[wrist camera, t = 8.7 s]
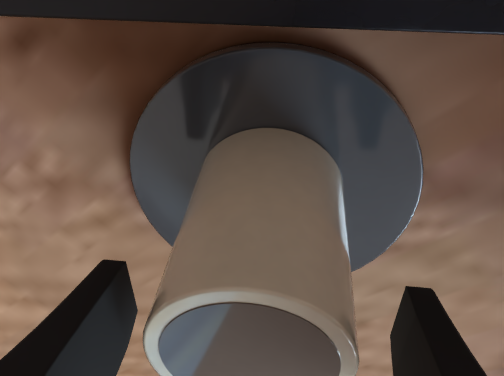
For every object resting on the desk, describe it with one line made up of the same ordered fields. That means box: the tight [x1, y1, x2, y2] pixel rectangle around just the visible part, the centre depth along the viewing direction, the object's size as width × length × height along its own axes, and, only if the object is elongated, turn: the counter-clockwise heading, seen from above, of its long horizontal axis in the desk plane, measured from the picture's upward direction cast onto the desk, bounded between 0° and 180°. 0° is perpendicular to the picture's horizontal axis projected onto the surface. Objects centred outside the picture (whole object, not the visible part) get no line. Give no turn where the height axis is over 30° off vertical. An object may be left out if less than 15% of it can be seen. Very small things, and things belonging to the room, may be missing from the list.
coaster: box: [130, 42, 423, 272], centre depth 16 cm, size 10×10×1 cm
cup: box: [143, 128, 359, 376], centre depth 13 cm, size 5×5×6 cm
